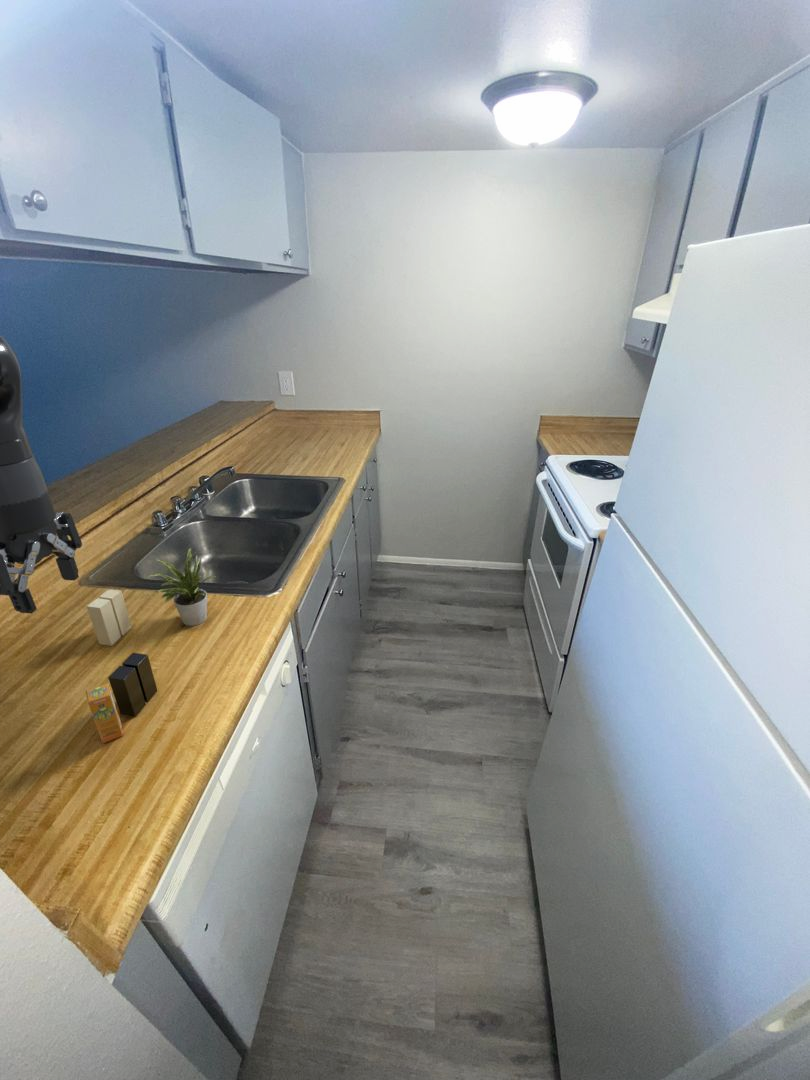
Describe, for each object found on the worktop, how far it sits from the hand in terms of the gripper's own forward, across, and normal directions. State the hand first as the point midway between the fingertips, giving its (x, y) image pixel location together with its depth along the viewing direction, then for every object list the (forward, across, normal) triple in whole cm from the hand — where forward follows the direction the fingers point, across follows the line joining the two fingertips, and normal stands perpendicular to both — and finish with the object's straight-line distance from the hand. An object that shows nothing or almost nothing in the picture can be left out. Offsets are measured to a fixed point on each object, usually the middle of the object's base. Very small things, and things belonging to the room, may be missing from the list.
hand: (50, 594), depth 69 cm
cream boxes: (+28, -24, -13) cm, 39 cm away
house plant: (+28, -33, 0) cm, 43 cm away
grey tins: (+28, -6, +3) cm, 29 cm away
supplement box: (+28, +1, +3) cm, 28 cm away
